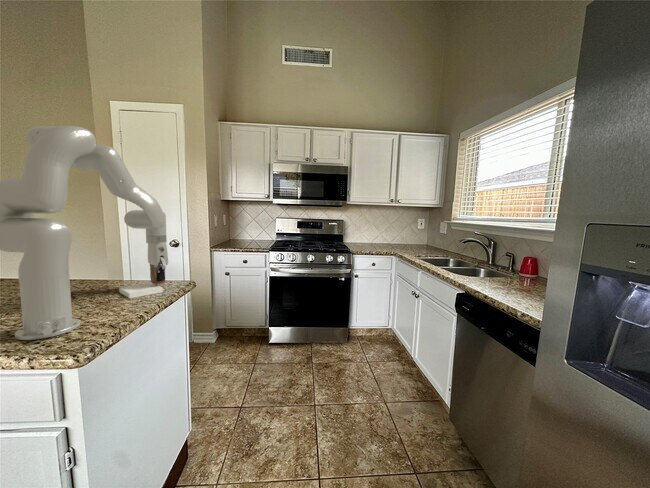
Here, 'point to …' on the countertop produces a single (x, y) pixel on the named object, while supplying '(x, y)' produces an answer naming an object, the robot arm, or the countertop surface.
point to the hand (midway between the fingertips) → (157, 279)
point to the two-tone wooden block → (153, 275)
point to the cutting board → (140, 290)
